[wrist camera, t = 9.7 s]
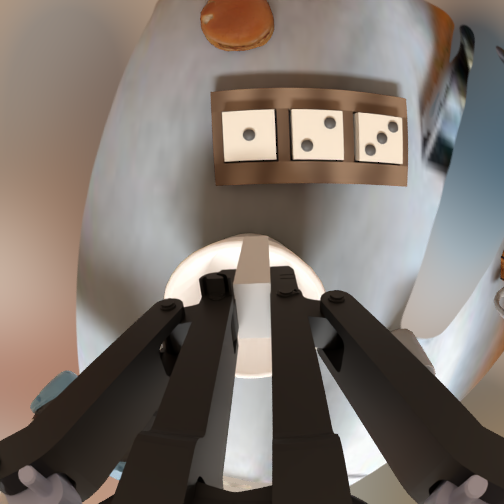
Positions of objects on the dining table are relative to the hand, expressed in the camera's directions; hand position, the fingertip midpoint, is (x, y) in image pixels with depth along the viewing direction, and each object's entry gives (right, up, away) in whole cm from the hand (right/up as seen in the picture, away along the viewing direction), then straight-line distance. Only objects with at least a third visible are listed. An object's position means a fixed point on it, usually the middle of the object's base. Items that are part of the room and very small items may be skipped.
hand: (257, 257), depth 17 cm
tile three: (+15, +15, +14) cm, 26 cm away
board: (+8, +15, +15) cm, 23 cm away
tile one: (0, +15, +16) cm, 22 cm away
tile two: (+8, +15, +15) cm, 23 cm away
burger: (-2, +31, +10) cm, 33 cm away
